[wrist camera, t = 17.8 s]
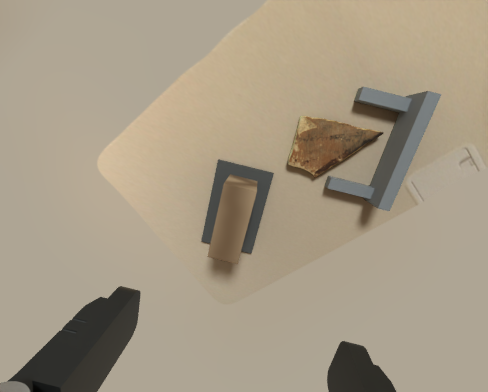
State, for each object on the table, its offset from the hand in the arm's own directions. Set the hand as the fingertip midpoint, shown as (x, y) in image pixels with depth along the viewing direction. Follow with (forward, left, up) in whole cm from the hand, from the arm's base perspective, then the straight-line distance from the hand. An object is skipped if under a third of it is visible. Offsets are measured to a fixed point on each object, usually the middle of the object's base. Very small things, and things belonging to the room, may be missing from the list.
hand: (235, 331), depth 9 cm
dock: (-14, -9, -26) cm, 30 cm away
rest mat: (+2, +4, -26) cm, 26 cm away
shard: (-8, -9, -27) cm, 29 cm away
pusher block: (+2, +4, -25) cm, 26 cm away
